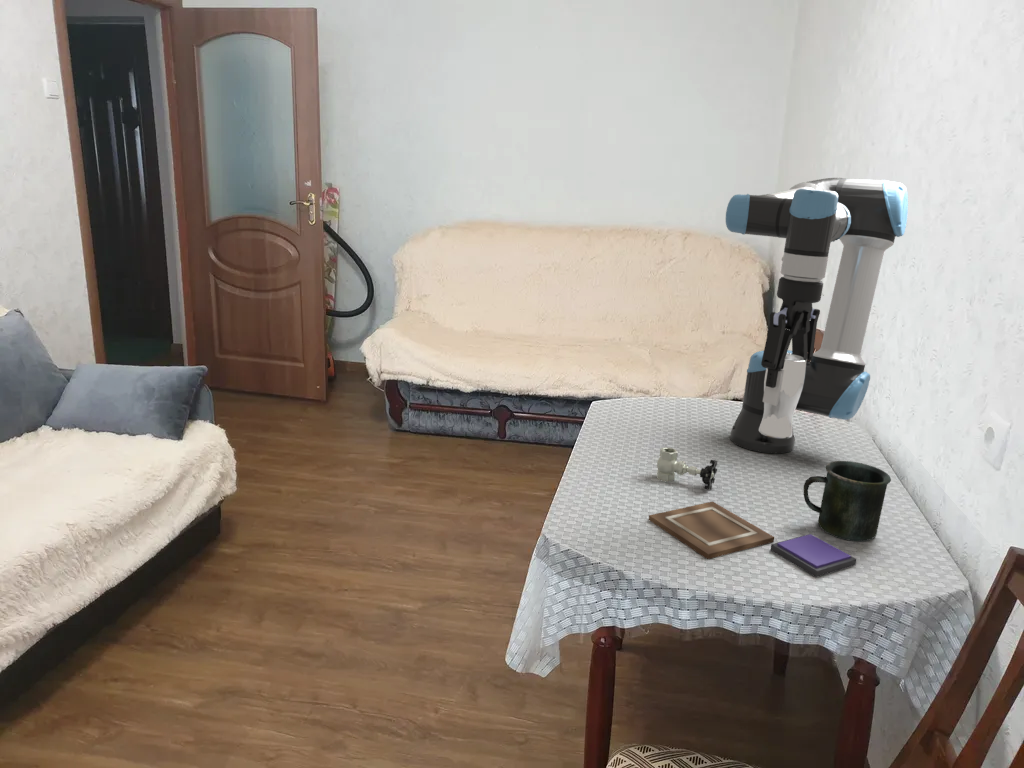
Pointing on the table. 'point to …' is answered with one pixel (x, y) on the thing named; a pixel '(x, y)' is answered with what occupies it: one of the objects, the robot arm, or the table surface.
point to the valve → (682, 468)
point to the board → (711, 529)
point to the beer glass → (784, 399)
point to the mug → (850, 499)
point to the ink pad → (813, 555)
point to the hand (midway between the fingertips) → (780, 400)
